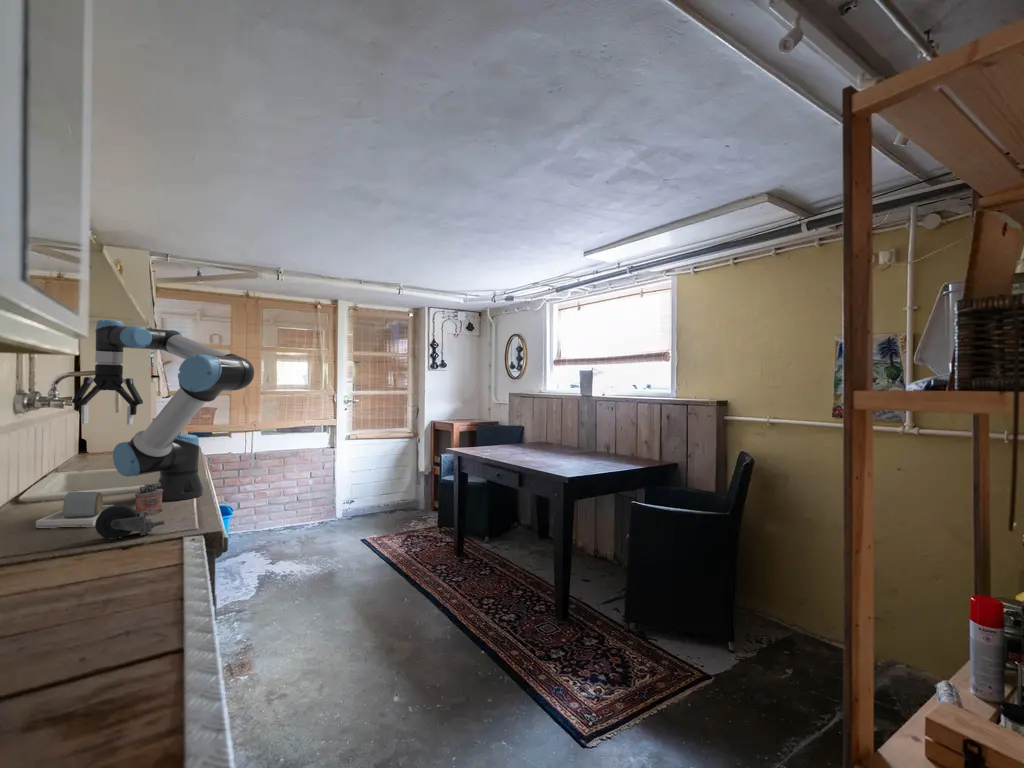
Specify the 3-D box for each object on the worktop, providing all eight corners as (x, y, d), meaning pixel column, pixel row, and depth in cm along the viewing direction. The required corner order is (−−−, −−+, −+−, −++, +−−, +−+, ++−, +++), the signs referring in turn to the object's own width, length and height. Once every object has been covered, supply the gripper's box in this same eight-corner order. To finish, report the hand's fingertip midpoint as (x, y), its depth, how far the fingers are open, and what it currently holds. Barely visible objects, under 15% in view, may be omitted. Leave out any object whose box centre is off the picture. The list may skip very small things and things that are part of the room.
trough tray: (123, 511, 157) (123, 504, 156) (92, 527, 141) (93, 519, 141) (72, 512, 153) (73, 505, 153) (35, 528, 138) (36, 521, 138)
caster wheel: (96, 546, 129) (164, 532, 137) (92, 511, 128) (161, 499, 137) (99, 540, 134) (165, 527, 142) (95, 506, 133) (162, 495, 141)
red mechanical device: (139, 518, 150) (140, 487, 150) (131, 517, 151) (132, 485, 151) (165, 512, 158) (165, 481, 158) (157, 510, 159) (158, 480, 159)
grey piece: (97, 517, 146) (98, 492, 146) (61, 521, 142) (62, 495, 142) (105, 509, 155) (105, 485, 155) (71, 512, 151) (72, 487, 151)
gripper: (154, 365, 176) (153, 423, 177) (73, 362, 170) (72, 422, 170) (144, 365, 169) (143, 425, 169) (59, 362, 163) (58, 424, 163)
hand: (107, 424), depth 170 cm, fingers open, 13 cm apart
